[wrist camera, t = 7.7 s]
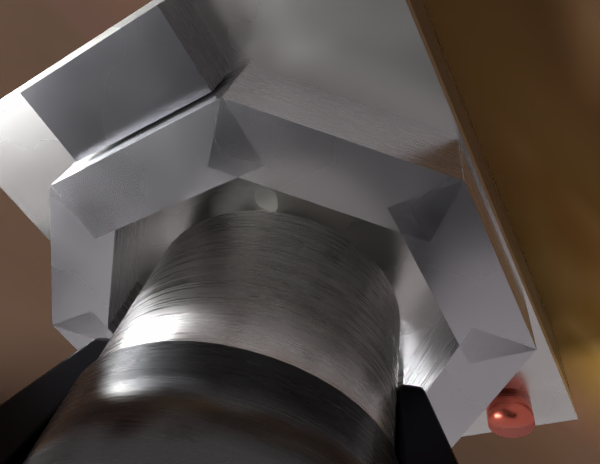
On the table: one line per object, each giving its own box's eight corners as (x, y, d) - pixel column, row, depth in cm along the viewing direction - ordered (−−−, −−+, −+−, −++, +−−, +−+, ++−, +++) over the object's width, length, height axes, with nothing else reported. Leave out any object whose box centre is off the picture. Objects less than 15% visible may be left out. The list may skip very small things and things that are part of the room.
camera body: (278, 386, 18) (244, 517, 15) (35, 80, 13) (-109, 167, 10) (551, 326, 15) (595, 480, 11) (368, -135, 9) (338, -126, 6)
